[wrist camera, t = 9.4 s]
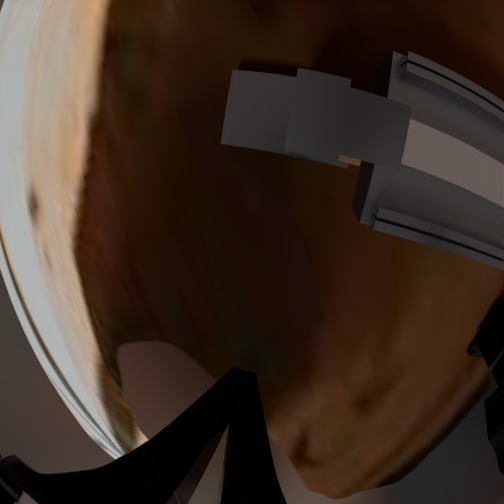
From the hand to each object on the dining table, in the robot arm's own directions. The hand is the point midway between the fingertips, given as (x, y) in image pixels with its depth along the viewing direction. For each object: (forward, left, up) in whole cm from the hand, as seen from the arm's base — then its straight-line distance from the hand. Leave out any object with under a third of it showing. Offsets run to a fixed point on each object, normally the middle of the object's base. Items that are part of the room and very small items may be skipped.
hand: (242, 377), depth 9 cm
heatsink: (-10, -9, -12) cm, 18 cm away
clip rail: (+1, -9, -12) cm, 15 cm away
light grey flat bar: (-9, -9, -8) cm, 15 cm away
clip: (-2, -9, -11) cm, 14 cm away
